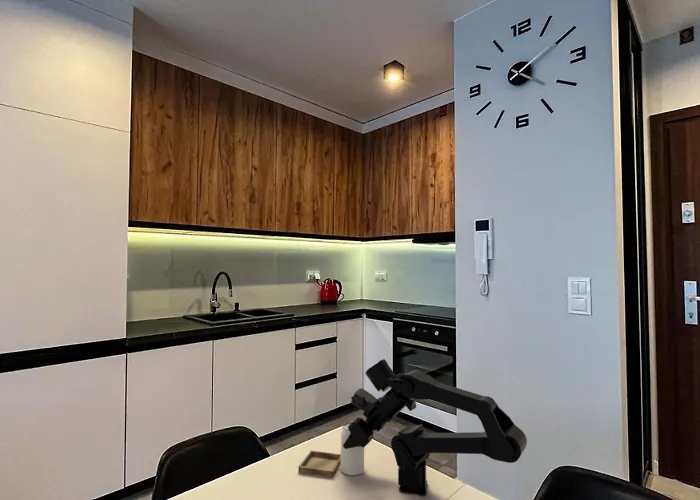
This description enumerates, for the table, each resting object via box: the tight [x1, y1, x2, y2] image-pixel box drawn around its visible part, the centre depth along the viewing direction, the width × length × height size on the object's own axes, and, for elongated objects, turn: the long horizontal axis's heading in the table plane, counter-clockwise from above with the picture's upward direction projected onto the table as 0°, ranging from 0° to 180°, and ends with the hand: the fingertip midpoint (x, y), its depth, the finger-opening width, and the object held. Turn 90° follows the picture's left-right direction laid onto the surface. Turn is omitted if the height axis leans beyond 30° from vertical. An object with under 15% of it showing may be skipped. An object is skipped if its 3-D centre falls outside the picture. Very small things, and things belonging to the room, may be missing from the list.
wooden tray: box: [298, 450, 341, 478], centre depth 107 cm, size 10×10×2 cm
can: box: [340, 421, 365, 477], centre depth 105 cm, size 6×6×12 cm
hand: (351, 440), depth 105 cm, fingers open, 9 cm apart
